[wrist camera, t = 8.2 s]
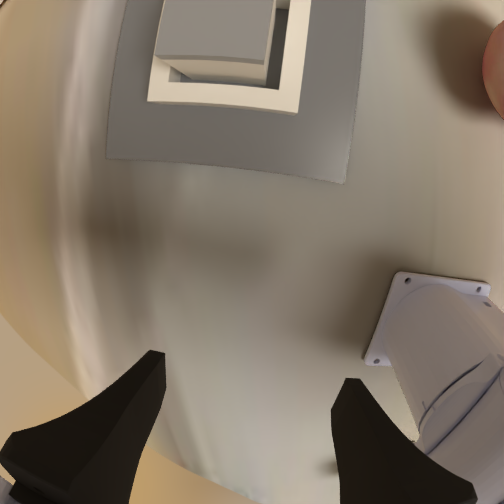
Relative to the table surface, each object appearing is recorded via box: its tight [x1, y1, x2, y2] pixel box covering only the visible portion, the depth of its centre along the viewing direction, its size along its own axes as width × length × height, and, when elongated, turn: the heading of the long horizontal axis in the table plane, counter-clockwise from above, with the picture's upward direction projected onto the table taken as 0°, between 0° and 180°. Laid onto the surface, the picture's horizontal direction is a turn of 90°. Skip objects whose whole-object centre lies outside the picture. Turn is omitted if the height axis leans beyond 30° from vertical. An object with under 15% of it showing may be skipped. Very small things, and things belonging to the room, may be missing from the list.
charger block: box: [154, 0, 276, 86], centre depth 11 cm, size 4×4×6 cm
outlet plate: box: [106, 0, 366, 184], centre depth 13 cm, size 14×14×3 cm
